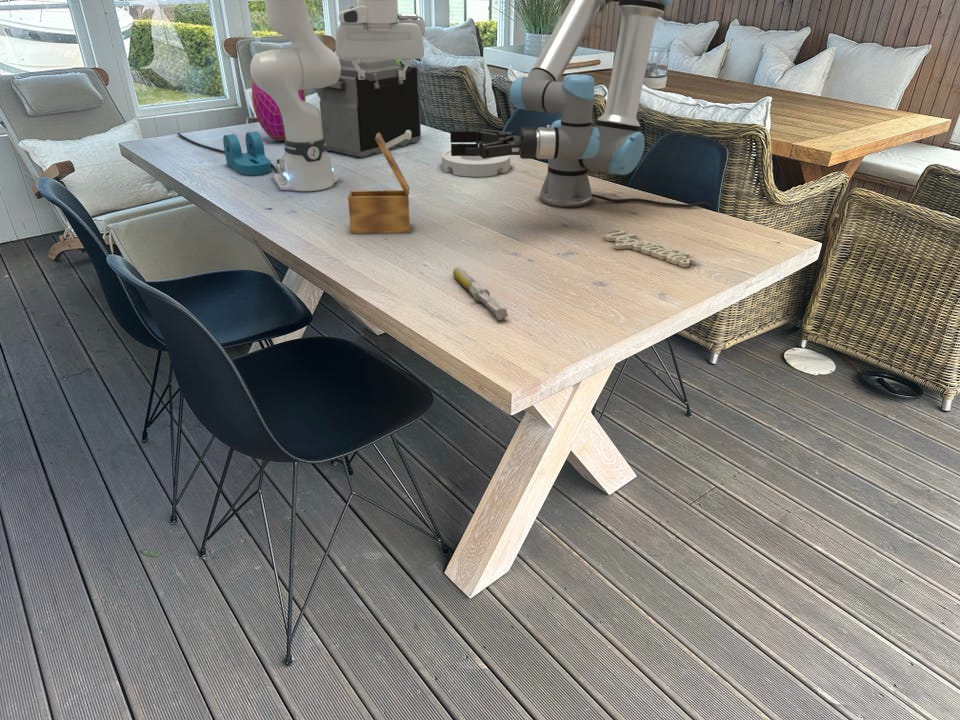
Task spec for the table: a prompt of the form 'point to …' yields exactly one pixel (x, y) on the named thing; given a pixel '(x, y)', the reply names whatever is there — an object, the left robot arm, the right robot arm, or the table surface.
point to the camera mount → (246, 154)
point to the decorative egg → (269, 112)
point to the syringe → (479, 293)
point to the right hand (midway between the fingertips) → (450, 143)
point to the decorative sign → (649, 248)
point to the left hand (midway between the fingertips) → (382, 79)
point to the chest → (379, 211)
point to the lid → (391, 160)
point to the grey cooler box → (370, 107)
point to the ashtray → (474, 165)
